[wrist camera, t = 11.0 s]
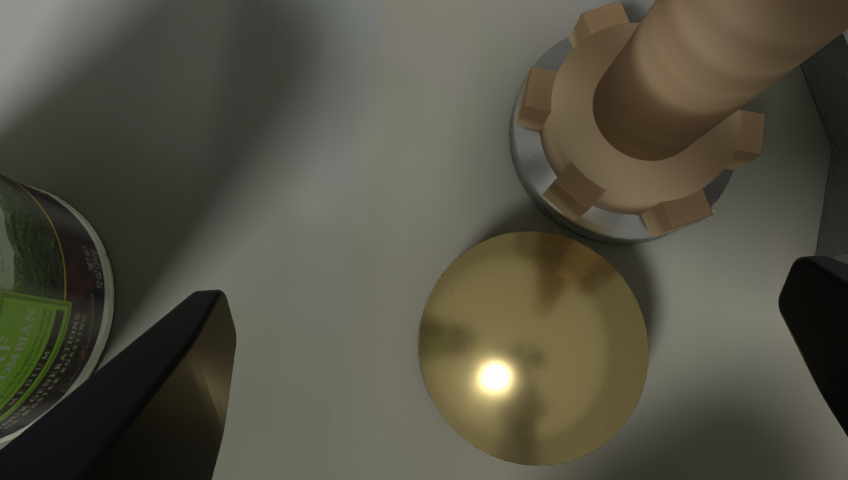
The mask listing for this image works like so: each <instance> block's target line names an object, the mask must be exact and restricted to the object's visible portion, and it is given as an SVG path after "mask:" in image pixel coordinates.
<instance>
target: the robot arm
mask: <svg viewBox="0 0 848 480" xmlns="http://www.w3.org/2000/svg"><path fill="white" fill-rule="evenodd" d="M779 309H780V312H781V315H782V317H783V319H784V321H785V323H786V325H787V327H788V329H789V331H790V333H791V335H792V337H793V339H794V341H795V343H796V345H797V347H798V349H799V351H800V353H801V355H802V357H803V359H804V361H805V363H806V365H807V367H808V369H809V371H810V373H811V375H812V377H813V379H814V381H815V383H816V385H817V387H818V389H819V391H820V393H821V394H822V396H823V398H824V399H825V401H826V403H827V404H828V406H829V408H830V409H831V411H832V413H833V414H834V416H835V417H836V419H837V420H838V422H839V424H840V425H841V427H842V428H843V430H844V432H845V433H846V435H847V436H848V264H846V263H843V262H841V261H838V260H836V259H833V258H831V257H828V256H808V257H801V258H798V259H797V260H796V261H795V262H794V263H793V265H792V267H791V269H790V272H789V274H788V276H787V279H786V281H785V284H784V286H783V288H782V291H781V293H780V296H779ZM235 349H236V331H235V326H234V323H233V319H232V315H231V312H230V308H229V304H228V301H227V298H226V295H225V294H224V292H223V291H221V290H205V291H196V292H194V293H192V294H191V295H190V296H189V297H187V298H186V299H185V300H184V301H182V302H181V303H180V304H179V305H178V306H176V307H175V308H174V309H173V310H171V311H170V312H169V313H168V314H167V315H165V316H164V317H163V318H162V319H160V320H159V321H158V322H157V323H155V324H154V325H153V326H152V327H151V328H149V329H148V330H147V331H146V332H144V333H143V334H142V335H141V336H140V337H138V338H137V339H136V340H135V341H133V342H132V343H131V344H130V345H129V346H127V347H126V348H125V349H124V350H122V351H121V352H120V353H119V354H118V355H116V356H115V357H114V358H113V359H111V360H110V361H109V362H108V363H107V364H105V365H104V366H103V367H102V368H100V369H99V370H98V371H97V372H95V373H94V374H93V375H92V376H91V377H89V378H88V379H87V380H86V381H84V382H83V383H82V384H81V385H80V386H78V387H77V388H76V389H75V390H73V391H72V392H71V393H70V394H69V395H67V396H66V397H65V398H64V399H62V400H61V401H60V402H59V403H58V404H56V405H55V406H54V407H53V408H51V409H50V410H49V411H48V412H47V413H45V414H44V415H43V416H42V417H40V418H39V419H38V420H37V421H36V422H34V423H33V424H32V425H31V426H29V427H28V428H27V429H26V430H24V431H23V432H22V433H21V434H20V435H18V436H17V437H16V438H15V439H13V440H12V441H11V442H10V443H9V444H7V445H6V446H5V447H4V448H2V449H1V450H0V480H212V476H213V472H214V468H215V465H216V461H217V457H218V453H219V450H220V446H221V441H222V437H223V433H224V426H225V420H226V413H227V406H228V399H229V392H230V385H231V377H232V370H233V363H234V356H235Z"/></svg>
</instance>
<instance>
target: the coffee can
mask: <svg viewBox="0 0 848 480" xmlns="http://www.w3.org/2000/svg"><path fill="white" fill-rule="evenodd" d="M114 303H115V287H114V279H113V272H112V267H111V263H110V261H109V258H108V255H107V252H106V250H105V247H104V245H103V243H102V242H101V240H100V238H99V236H98V235H97V233H96V232H95V230H94V229H93V228H92V226H91V225H90V223H89V222H88V221H87V220H86V219H85V218H84V217H83V216H82V215H81V214H80V213H79V212H78V211H76V210H75V209H74V208H73V207H72V206H70V205H69V204H68V203H66V202H65V201H63V200H62V199H60V198H59V197H57V196H55V195H53V194H51V193H49V192H47V191H44V190H41V189H38V188H35V187H32V186H28V185H26V184H24V183H22V182H19V181H17V180H15V179H13V178H11V177H9V176H6V175H4V174H2V173H0V443H3V442H6V441H8V440H11V439H14V438H16V437H17V436H18V435H20V434H21V433H22V432H23V431H24V430H26V429H27V428H28V427H29V426H31V425H32V424H33V423H34V422H36V421H37V420H38V419H39V418H40V417H42V416H43V415H44V414H45V413H47V412H48V411H49V410H50V409H51V408H53V407H54V406H55V405H56V404H58V403H59V402H60V401H61V400H62V399H64V398H65V397H66V396H67V395H69V394H70V393H71V392H72V391H73V390H75V389H76V388H77V387H78V386H80V385H81V384H82V383H83V382H84V381H86V380H87V379H88V378H89V377H90V375H91V373H92V372H93V370H94V369H95V367H96V364H97V362H98V360H99V358H100V356H101V354H102V352H103V350H104V347H105V345H106V342H107V339H108V336H109V333H110V329H111V325H112V320H113V313H114Z"/></svg>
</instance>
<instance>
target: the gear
mask: <svg viewBox="0 0 848 480" xmlns="http://www.w3.org/2000/svg"><path fill="white" fill-rule="evenodd" d="M847 29H848V0H656V1H655V3H654V4H653V6H652V7H651V8H650V10H649V11H648V13H647V14H646V16H645V17H644V18H643V20H642V21H641V23H639V22H633V23H630V22H629V19H628V17H627V15H626V12H625V10H624V8H623V6H622V3H621V2H618V3H614V4H611V5H607V6H604V7H600V8H597V9H593V10H590V11H586V12H583V13H582V14H581V16H580V18H579V20H578V22H577V24H576V26H575V27H574V29H573V31H572V33H571V35H570V37H569V40H570V42H571V45H572V47H573V50H572V51H571V52H570V54H569V55H568V56H567V57H566V59H565V60H564V62H563V64H562V65H561V67H560V69H559V71H558V72H557V71H552V70H547V69H542V68H537V67H531V70H530V72H529V74H528V76H527V79H526V81H525V83H524V86H523V88H522V93H521V98H520V103H519V109H518V114H517V119H516V125H518V126H522V127H527V128H532V129H537V130H540V139H541V144H542V148H543V151H544V154H545V157H546V159H547V161H548V163H549V165H550V167H551V168H552V170H553V172H554V173H555V175H556V176H557V178H556V179H555V180H554V181H553V183H552V184H551V185H550V186H549V187H548V188H547V190H546V191H545V192H544V193H543V194H542V195H543V196H544V197H545V198H546V199H548V200H549V201H550V202H551V203H552V204H553V205H555V206H556V207H557V208H558V209H559V210H561V211H562V212H563V213H564V214H565V215H567V216H568V217H569V218H570V219H571V220H572V221H574V222H575V221H576V220H577V219H578V218H580V217H581V216H582V215H583V214H585V213H586V212H587V211H588V210H589V209H590V208H591V207H592V206H595V207H597V208H600V209H602V210H605V211H609V212H613V213H618V214H625V215H640V214H641V215H642V217H643V219H644V222H645V224H646V227H647V229H648V232H649V234H650V236H651V238H652V237H655V236H658V235H661V234H664V233H668V232H671V231H674V230H677V229H680V228H683V227H686V226H689V225H691V224H693V223H695V222H697V221H700V220H702V219H704V218H706V217H708V216H711V215H713V212H712V210H711V207H710V205H709V203H708V201H707V198H706V196H705V194H704V191H703V189H702V188H704V187H706V186H707V185H708V184H710V183H711V182H712V181H713V180H715V179H716V178H717V177H718V176H719V175H720V174H721V172H722V171H723V170H724V169H725V168H726V169H731V170H735V169H737V168H739V167H740V166H742V165H744V164H746V163H747V162H749V161H751V160H753V159H755V158H756V157H758V156H760V155H761V154H762V143H763V133H764V122H765V114H761V113H756V112H751V111H746V110H741V109H740V108H741V107H743V106H744V105H746V104H747V103H748V102H750V101H751V100H752V99H754V98H755V97H756V96H758V95H759V94H760V93H762V92H763V91H764V90H766V89H767V88H769V87H770V86H771V85H773V84H774V83H775V82H777V81H778V80H779V79H781V78H782V77H783V76H785V75H786V74H788V73H789V72H790V71H792V70H793V69H794V68H796V67H797V66H798V65H800V64H801V63H802V62H804V61H805V60H807V59H808V58H809V57H811V56H812V55H813V54H815V53H816V52H817V51H819V50H820V49H821V48H823V47H824V46H825V45H827V44H828V43H830V42H831V41H832V40H834V39H835V38H836V37H838V36H839V35H840V34H842V33H843V32H844V31H846V30H847Z"/></svg>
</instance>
